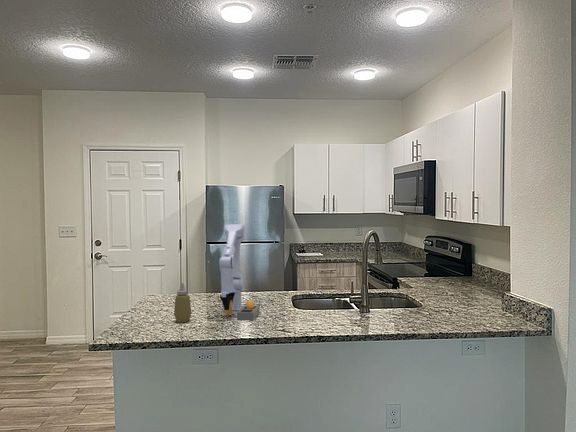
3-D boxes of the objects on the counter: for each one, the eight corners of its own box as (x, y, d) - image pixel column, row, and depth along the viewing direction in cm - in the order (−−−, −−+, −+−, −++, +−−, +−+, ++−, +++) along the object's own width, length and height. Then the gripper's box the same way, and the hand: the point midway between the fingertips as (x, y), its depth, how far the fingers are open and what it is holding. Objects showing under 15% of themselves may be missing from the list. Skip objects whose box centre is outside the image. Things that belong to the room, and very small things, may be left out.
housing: (237, 319, 215) (236, 306, 215) (244, 312, 229) (243, 299, 229) (253, 320, 214) (253, 306, 214) (259, 312, 228) (259, 299, 227)
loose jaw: (222, 313, 220) (222, 301, 220) (225, 311, 224) (224, 299, 224) (230, 313, 219) (230, 301, 219) (233, 311, 223) (232, 299, 223)
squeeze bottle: (195, 319, 217) (194, 281, 216) (185, 324, 209) (184, 284, 209) (180, 318, 220) (179, 281, 219) (170, 322, 212) (169, 284, 211)
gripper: (231, 283, 213) (232, 312, 214) (239, 278, 228) (239, 305, 228) (216, 283, 214) (217, 312, 215) (225, 278, 229) (225, 305, 229)
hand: (227, 308), depth 222 cm, fingers closed on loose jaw, 4 cm apart
